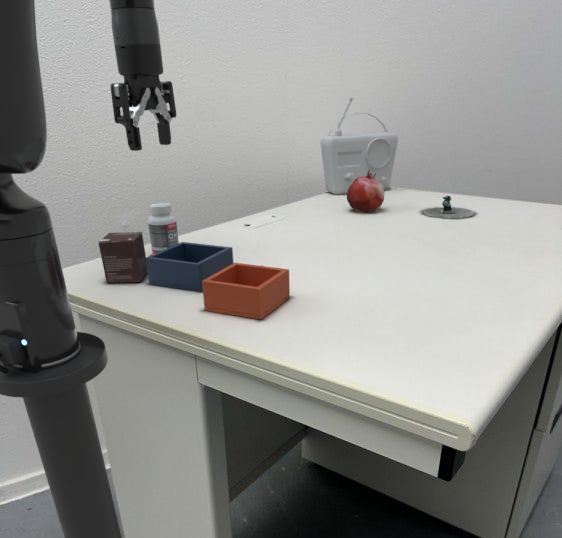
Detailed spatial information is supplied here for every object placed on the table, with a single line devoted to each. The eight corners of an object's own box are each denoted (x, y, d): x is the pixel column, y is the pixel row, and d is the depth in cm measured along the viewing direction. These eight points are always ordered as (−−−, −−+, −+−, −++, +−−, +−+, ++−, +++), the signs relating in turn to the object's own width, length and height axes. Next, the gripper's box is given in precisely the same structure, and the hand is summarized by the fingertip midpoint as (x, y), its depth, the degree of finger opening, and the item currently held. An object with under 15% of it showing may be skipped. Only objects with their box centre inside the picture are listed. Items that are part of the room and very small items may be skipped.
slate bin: (201, 292, 89) (198, 264, 86) (149, 284, 93) (145, 257, 91) (234, 272, 97) (232, 247, 95) (185, 266, 101) (182, 241, 99)
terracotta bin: (261, 319, 78) (259, 289, 76) (204, 310, 82) (201, 280, 79) (289, 297, 85) (289, 269, 83) (236, 289, 89) (234, 262, 87)
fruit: (340, 208, 141) (341, 167, 136) (374, 205, 143) (376, 165, 138) (354, 216, 133) (355, 173, 128) (389, 212, 135) (392, 170, 130)
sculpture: (413, 212, 137) (432, 185, 136) (434, 233, 141) (453, 207, 140) (442, 218, 126) (463, 189, 125) (464, 241, 131) (485, 213, 130)
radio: (330, 197, 155) (331, 98, 143) (318, 192, 162) (319, 97, 150) (398, 190, 161) (405, 95, 149) (384, 185, 168) (390, 94, 156)
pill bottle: (177, 259, 105) (170, 207, 101) (149, 259, 106) (142, 207, 101) (182, 251, 110) (176, 201, 105) (156, 251, 110) (149, 202, 106)
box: (149, 272, 99) (143, 231, 95) (140, 283, 93) (133, 240, 90) (116, 272, 99) (108, 232, 95) (105, 283, 94) (97, 241, 90)
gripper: (146, 45, 98) (158, 142, 106) (89, 42, 87) (108, 151, 94) (180, 43, 95) (190, 143, 103) (126, 39, 84) (142, 153, 91)
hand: (151, 147), depth 98 cm, fingers open, 8 cm apart
